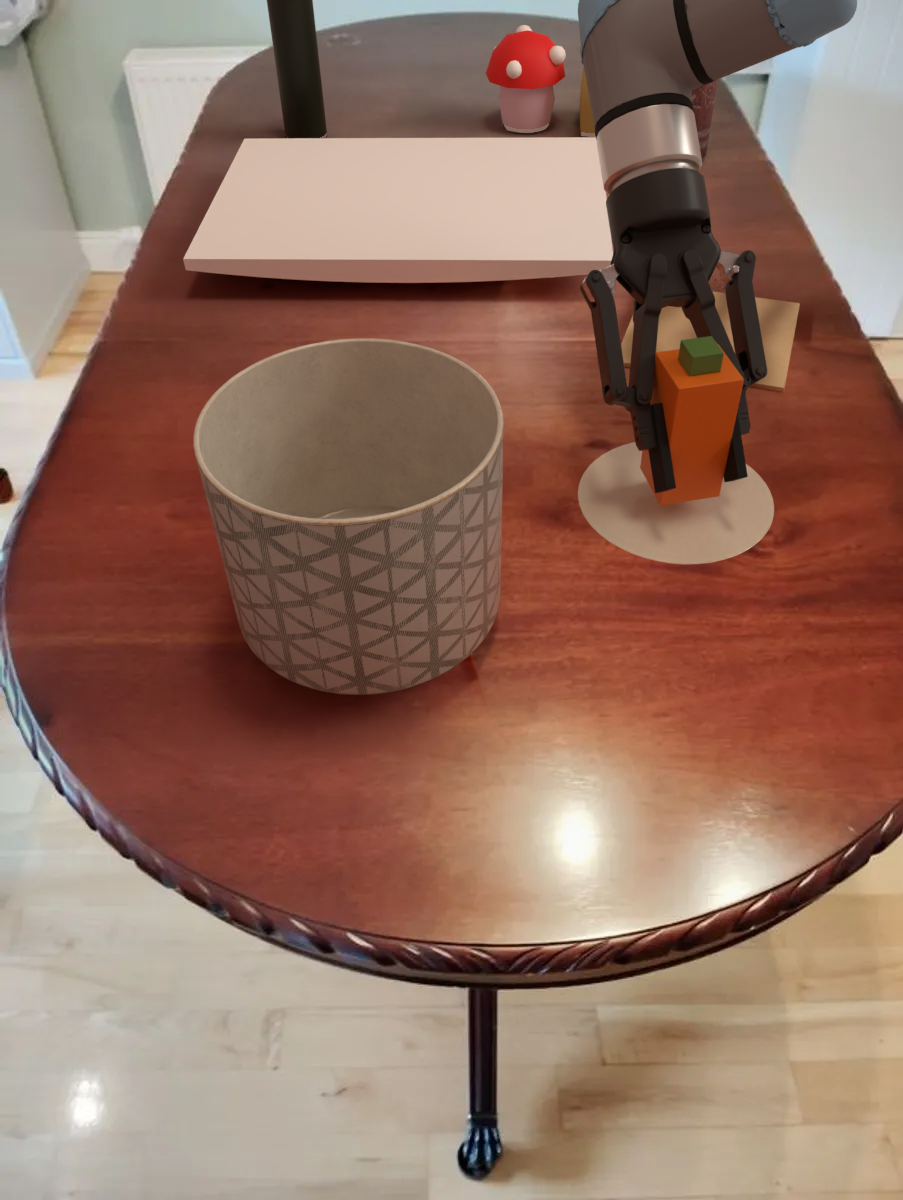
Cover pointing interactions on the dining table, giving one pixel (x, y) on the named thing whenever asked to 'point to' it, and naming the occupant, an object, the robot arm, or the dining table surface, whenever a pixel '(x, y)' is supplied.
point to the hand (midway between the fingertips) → (700, 484)
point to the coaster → (774, 329)
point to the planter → (357, 510)
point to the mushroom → (526, 77)
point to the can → (704, 112)
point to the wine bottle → (297, 67)
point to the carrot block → (695, 416)
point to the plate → (671, 513)
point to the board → (407, 210)
